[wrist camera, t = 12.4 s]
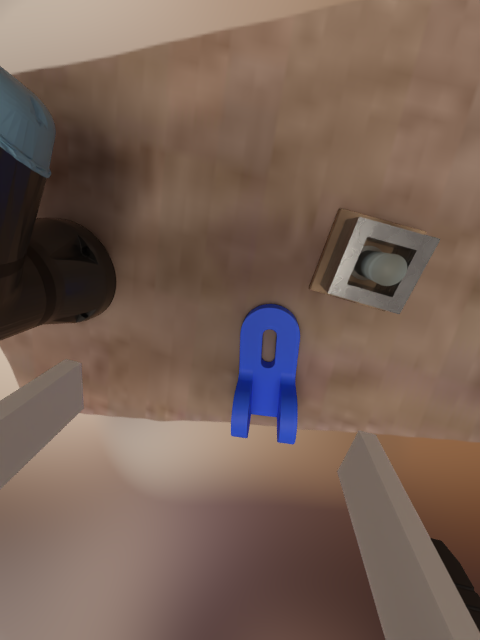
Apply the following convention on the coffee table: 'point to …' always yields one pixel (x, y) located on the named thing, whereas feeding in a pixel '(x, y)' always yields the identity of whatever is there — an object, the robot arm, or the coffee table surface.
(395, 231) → the gray square frame
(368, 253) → the peg stand
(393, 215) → the coffee table surface
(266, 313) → the bracket
